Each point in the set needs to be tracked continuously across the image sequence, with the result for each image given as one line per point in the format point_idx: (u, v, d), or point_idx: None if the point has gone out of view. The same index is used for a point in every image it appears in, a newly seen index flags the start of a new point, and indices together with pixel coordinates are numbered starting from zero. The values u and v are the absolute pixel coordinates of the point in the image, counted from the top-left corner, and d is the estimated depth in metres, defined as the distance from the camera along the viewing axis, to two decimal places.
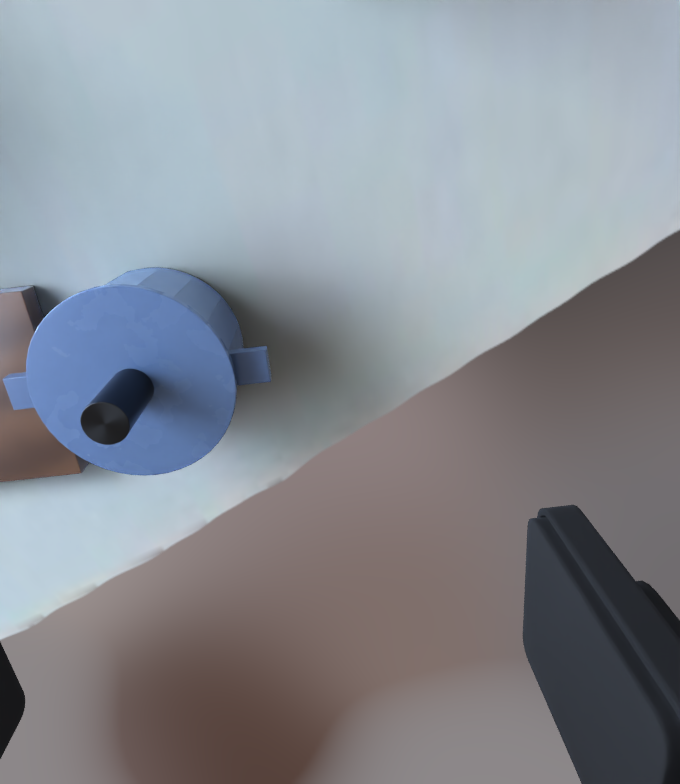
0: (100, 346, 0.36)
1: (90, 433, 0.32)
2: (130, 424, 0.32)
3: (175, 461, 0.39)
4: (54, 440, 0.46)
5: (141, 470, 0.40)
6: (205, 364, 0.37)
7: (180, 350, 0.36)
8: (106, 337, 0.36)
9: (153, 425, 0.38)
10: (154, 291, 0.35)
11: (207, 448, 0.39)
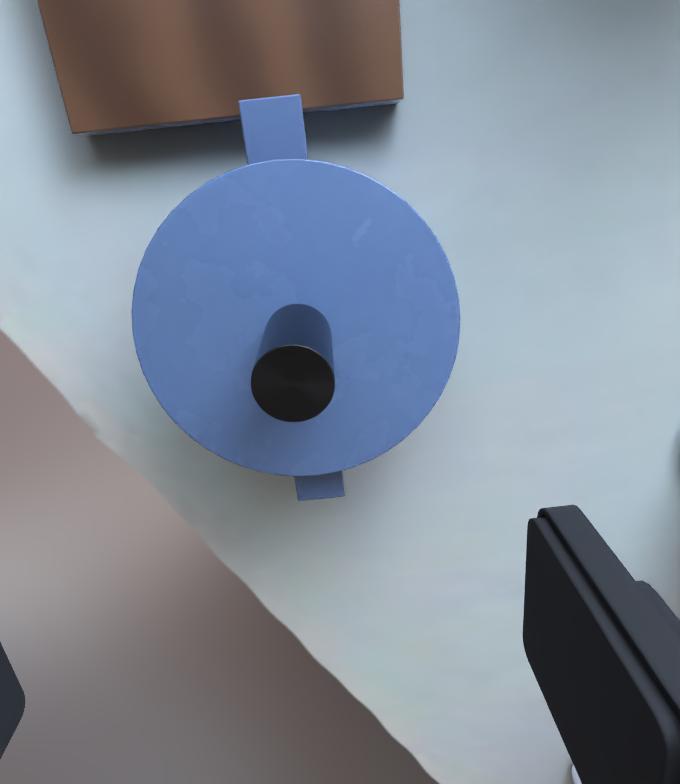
0: (368, 297, 0.23)
1: (273, 358, 0.18)
2: None
3: (166, 385, 0.24)
4: (135, 94, 0.26)
5: (143, 330, 0.23)
6: (335, 440, 0.25)
7: (358, 409, 0.25)
8: (382, 308, 0.23)
9: (231, 359, 0.23)
10: (446, 382, 0.24)
11: (194, 433, 0.25)
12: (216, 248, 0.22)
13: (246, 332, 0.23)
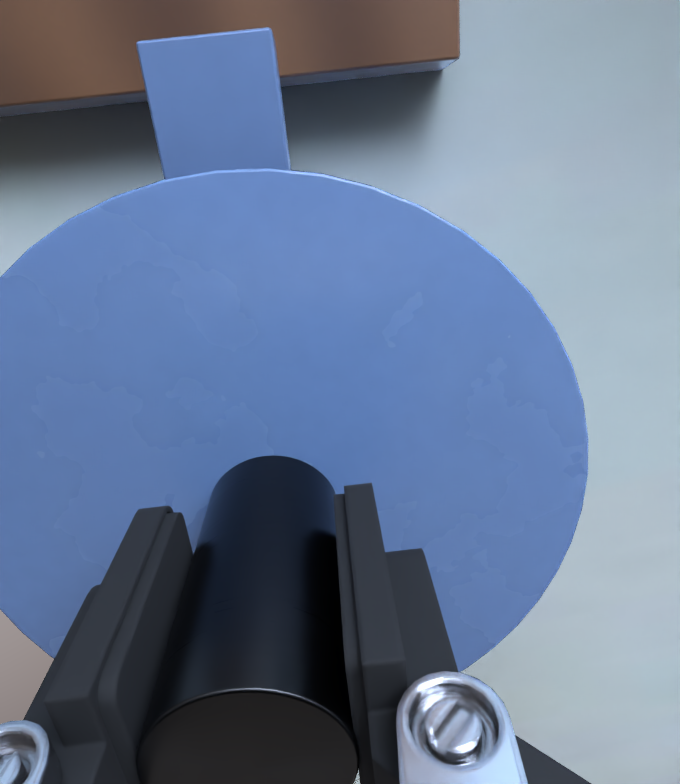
0: (413, 440, 0.11)
1: (192, 720, 0.07)
2: None
3: (25, 598, 0.13)
4: None
5: None
6: None
7: None
8: (440, 459, 0.12)
9: None
10: (550, 577, 0.13)
11: None
12: (99, 355, 0.10)
13: (173, 507, 0.12)
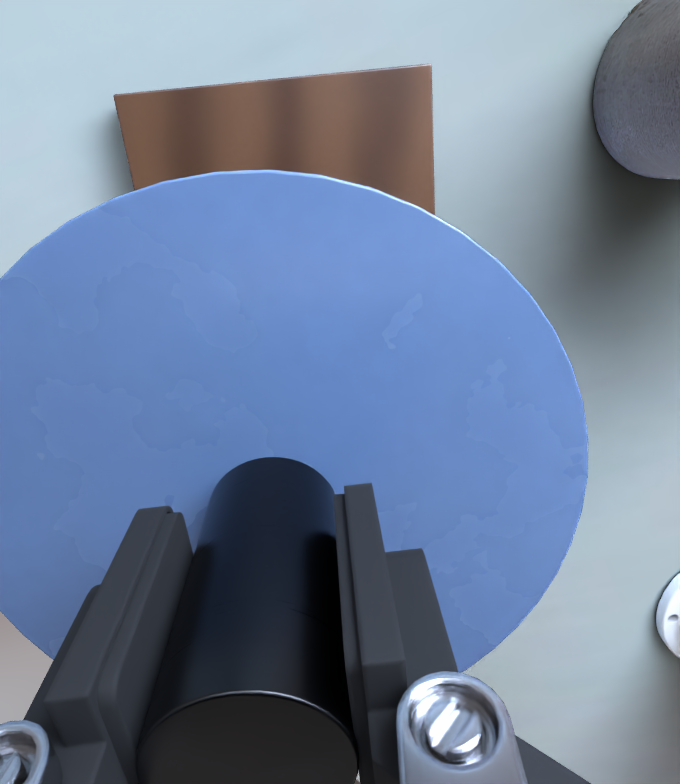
0: (413, 441, 0.11)
1: (192, 723, 0.07)
2: None
3: (24, 599, 0.13)
4: None
5: None
6: None
7: None
8: (440, 461, 0.12)
9: None
10: (550, 579, 0.13)
11: None
12: (99, 356, 0.10)
13: (173, 509, 0.12)
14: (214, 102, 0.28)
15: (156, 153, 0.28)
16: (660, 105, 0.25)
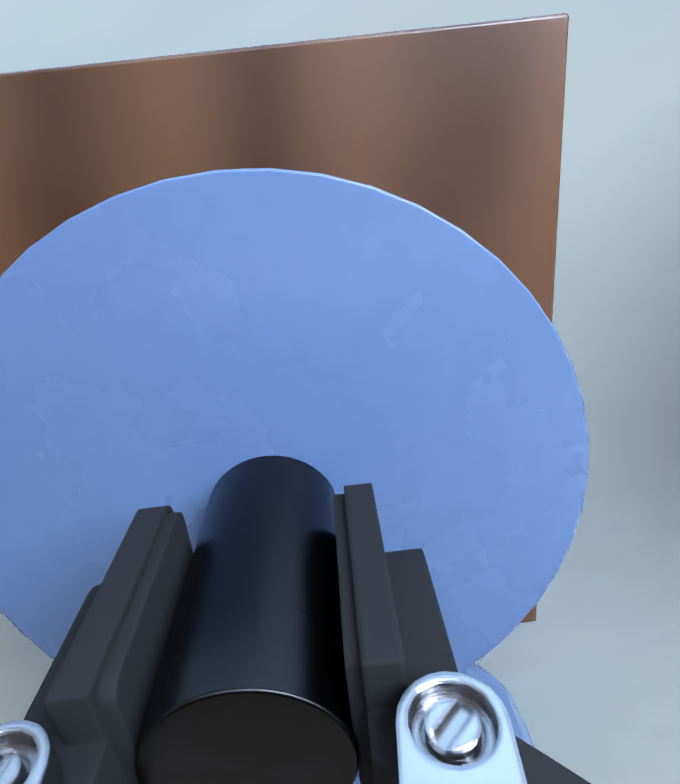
0: (413, 440, 0.11)
1: (192, 721, 0.06)
2: None
3: (24, 598, 0.13)
4: None
5: None
6: None
7: None
8: (440, 460, 0.12)
9: None
10: (550, 578, 0.13)
11: None
12: (99, 355, 0.10)
13: (172, 507, 0.12)
14: (108, 100, 0.13)
15: None
16: None
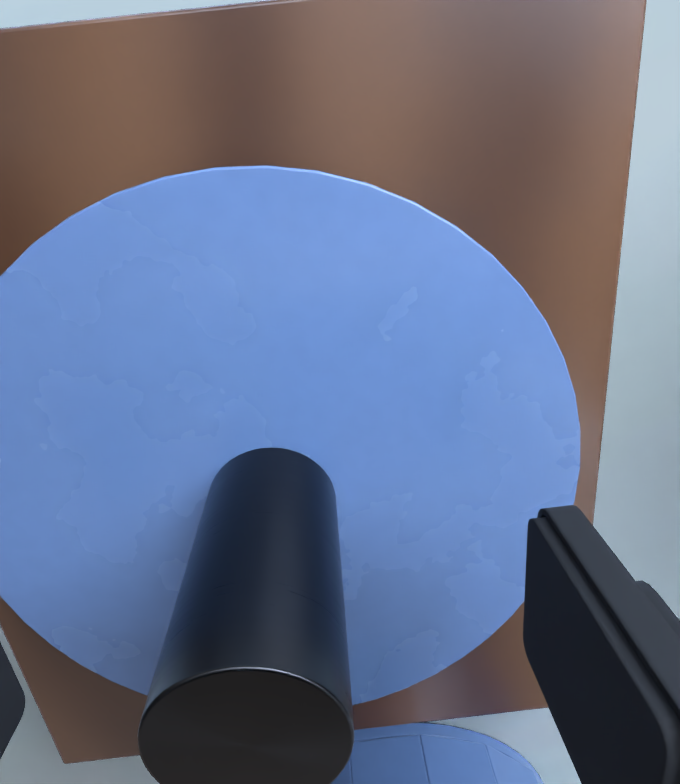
0: (408, 432, 0.12)
1: (193, 698, 0.07)
2: None
3: (27, 589, 0.13)
4: None
5: None
6: None
7: (384, 616, 0.14)
8: (435, 451, 0.12)
9: (147, 543, 0.12)
10: None
11: (89, 660, 0.14)
12: (101, 348, 0.11)
13: (173, 498, 0.12)
14: (36, 76, 0.10)
15: None
16: None
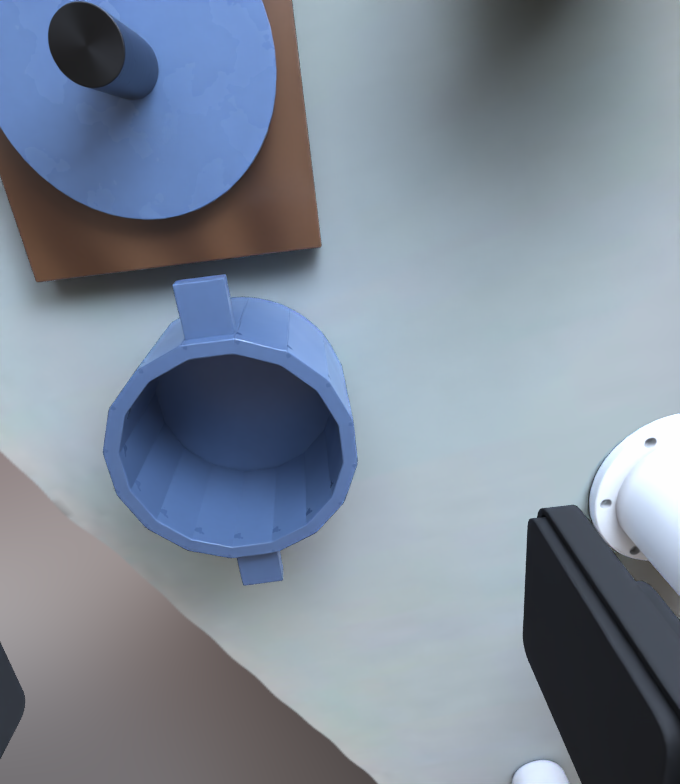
0: (187, 24, 0.25)
1: (65, 16, 0.20)
2: (91, 88, 0.21)
3: (12, 119, 0.26)
4: (89, 250, 0.30)
5: None
6: (176, 180, 0.28)
7: (192, 146, 0.27)
8: (202, 36, 0.25)
9: (69, 90, 0.26)
10: (270, 118, 0.27)
11: (44, 172, 0.27)
12: None
13: None
14: None
15: None
16: None
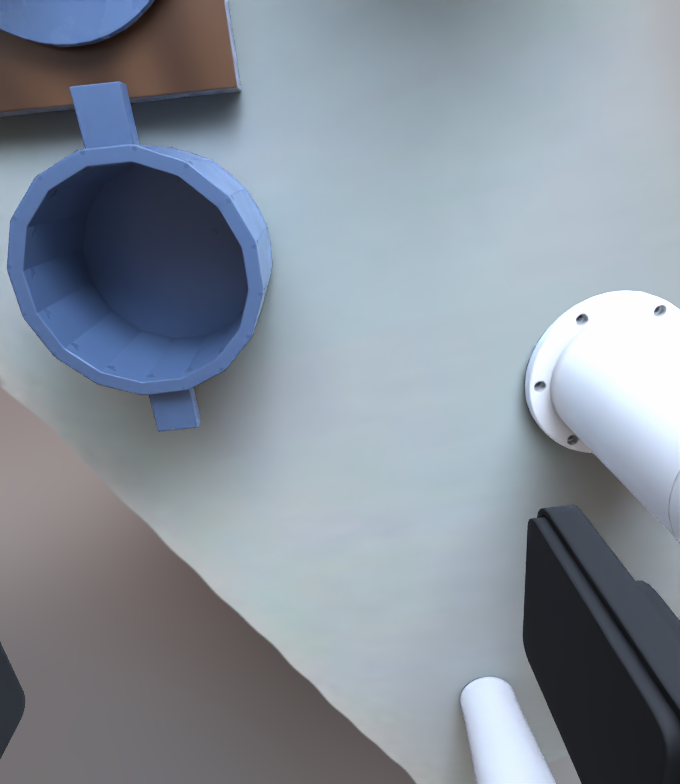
0: None
1: None
2: None
3: None
4: (6, 83, 0.30)
5: None
6: (85, 2, 0.28)
7: None
8: None
9: None
10: None
11: None
12: None
13: None
14: None
15: None
16: None
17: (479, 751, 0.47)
